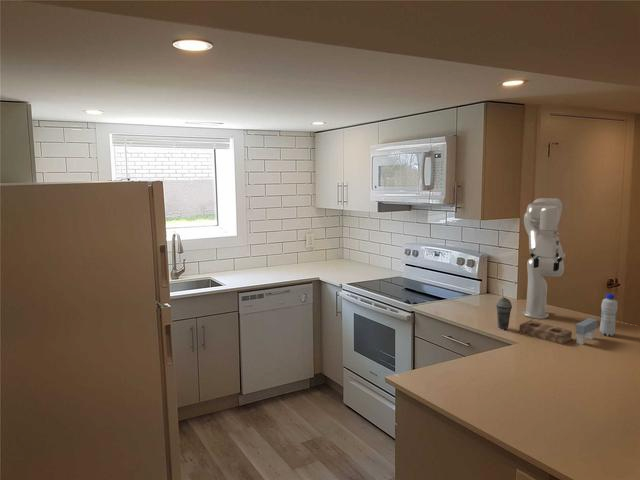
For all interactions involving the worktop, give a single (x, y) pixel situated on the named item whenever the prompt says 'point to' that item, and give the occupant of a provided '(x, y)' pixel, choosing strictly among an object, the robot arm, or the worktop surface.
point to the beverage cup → (503, 312)
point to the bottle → (608, 315)
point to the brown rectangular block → (545, 332)
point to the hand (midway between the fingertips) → (545, 269)
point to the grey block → (586, 330)
